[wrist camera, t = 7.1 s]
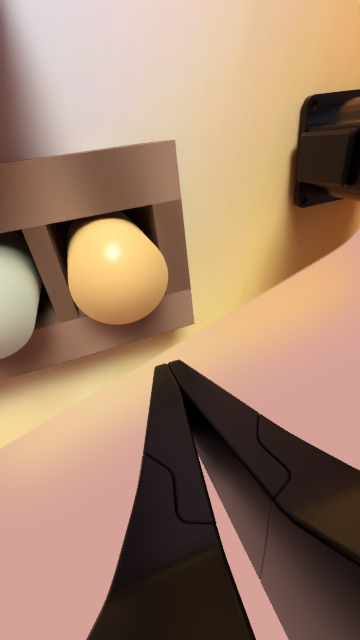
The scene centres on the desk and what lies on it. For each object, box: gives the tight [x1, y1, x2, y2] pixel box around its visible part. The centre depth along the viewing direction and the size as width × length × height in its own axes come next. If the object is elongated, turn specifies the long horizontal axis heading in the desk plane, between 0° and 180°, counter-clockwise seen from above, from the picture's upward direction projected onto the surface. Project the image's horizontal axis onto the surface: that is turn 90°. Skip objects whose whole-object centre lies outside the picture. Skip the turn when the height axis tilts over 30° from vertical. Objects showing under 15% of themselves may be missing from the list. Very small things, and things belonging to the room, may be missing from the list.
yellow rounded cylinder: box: [67, 211, 168, 325], centre depth 15 cm, size 4×4×6 cm
